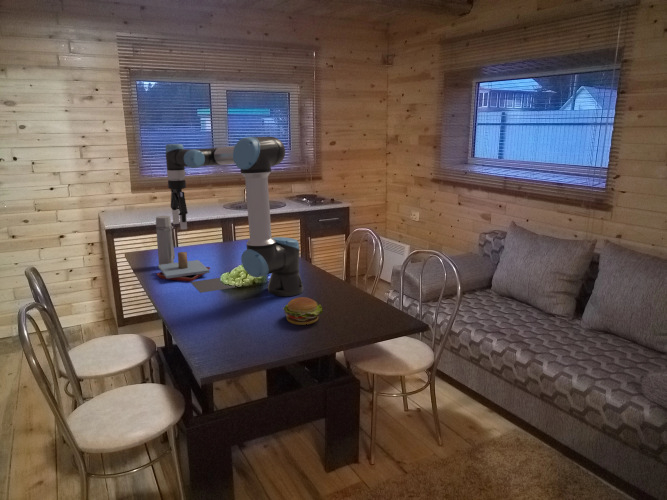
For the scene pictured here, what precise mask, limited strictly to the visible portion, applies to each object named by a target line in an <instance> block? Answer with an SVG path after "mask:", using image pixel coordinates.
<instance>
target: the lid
mask: <svg viewBox="0 0 667 500" xmlns="http://www.w3.org/2000/svg"><path fill="white" fill-rule="evenodd" d="M187 253H188V252H187V251H179V252H177V261H178V262H174V263H170V264H162V265H159V264H158V265H157V267H158V269H159V270H160V272H162V273H163V274H164V276H165V277H166V278H174V277H187V276H196V275H198V274H203V275H205V274H209V273H210V269H209V270H208V269H207V268H206V267H207V266H205V265H204V264H203V263H202V262H201V261H200V260H199V259H196V260H195V259H194V260H188V254H187ZM204 273H205V274H204Z"/></svg>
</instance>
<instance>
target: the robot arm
mask: <svg viewBox="0 0 667 500" xmlns="http://www.w3.org/2000/svg"><path fill="white" fill-rule="evenodd" d="M285 156H286V148H285V145H284V143H283V142H282V141H281V140H280V139H279V138H277V137H275V136H247V137H243V138H241V139H239V140H238V141H237V142H236V144H235V145H232V146H231V145H230V146H223V147H222V146H221V147H212V148H211V147H210V148H194V149H191V148H190V149H187V148H186V149H185V148H184V145H183V144H181V143H168V144H166V145H165V161H166V173H167V174H166V175H167V186H168V187H167V188H168V189H169V190H170V192H171V193H170V208H171V212H172V214H171V216H172V224H173V225H176V224H177V225H178V224H179V225H180V226H179V228H180V230H187V229H188V223H187V214H188V213H189V212H188V208H187V203H186V197H185V192H184V191H182V190H183V189H186V188H187V182H186V180H185V179H186V174H187V171H185V169H186V168H191V169H196V168H197V169H198V168H201V167H211V166H221V165H222V166H224V165H234V164H235V166H236V167H237V168H238V169H240V175H241V176H242V177H243V178H244V179H245V192H246V206H247V208H246V209H247V219H248V231H249V233H248V235H249V239H248V241H246V249H245V250H244V251H243V252H242V254H241V258H240V259H241V265H242V268H243V269H244V271H245V272H246V273H247V275H250V277H253V278H261V277H266V276H267V275H270V278H269V281H268V284H267V292H268V293H269V294H271V295H273V296H275V297H276V296H277V297H294V296H297V295H300V294H302V293H303V292H304V284H303V282H302V278H301V275H300V243H299V241H298V240H297V239H295V238H292V237H284V236H281V237H277V236H274V237H272V224H271V223H272V222H271V209H270V194H269V192H270V191H269V175H270V174H271V173H272V167H275V166H278V165H280V164H281V163H282V162H283V160H284V158H285Z"/></svg>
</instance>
